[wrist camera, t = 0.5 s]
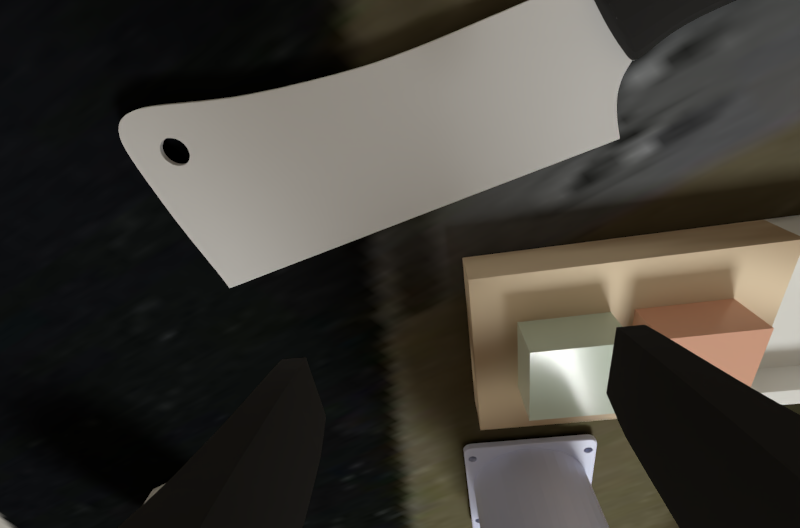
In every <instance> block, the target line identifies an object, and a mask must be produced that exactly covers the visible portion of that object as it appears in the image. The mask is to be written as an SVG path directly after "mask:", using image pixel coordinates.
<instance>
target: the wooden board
mask: <svg viewBox="0 0 800 528" xmlns="http://www.w3.org/2000/svg"><path fill="white" fill-rule="evenodd" d="M799 256H800V236H799V235H796V234H794V233H792V232H790V231H788V230H785V229H783V228H781V227H779V226H777V225H774V224H772V223H770V222H768V221H766V220H756V221H748V222H740V223H732V224H724V225H716V226H709V227H701V228H693V229H685V230H677V231H669V232H661V233H653V234H645V235H638V236H630V237H622V238H614V239H606V240H598V241H590V242H582V243H574V244H567V245H559V246H551V247H543V248H535V249H527V250H519V251H511V252H504V253H496V254H488V255H480V256H472V257H464V258H462V260H463V271H464V283H465V294H466V305H467V317H468V328H469V340H470V351H471V362H472V374H473V385H474V397H475V404H476V409H477V414H478V420H479V425H480V430H490V429H502V428H514V427H525V426H537V425H549V424H561V423H573V422H585V421H596V420H608V419H617V417H616V415H615V413H614V414H602V415H591V416H579V417H567V418H556V419H544V420H532V421H529V418H528V415H527V412H526V409H525V406H524V403H523V400H522V397H521V394H520V391H519V388H518V337H517V322H524V321H533V320H542V319H551V318H560V317H569V316H578V315H587V314H597V313H606V312H611V313H612V314H613V315H614V317H615V318H616V319H617V320H618V322H619V323H620V324H621V325H622V327H625V326H632V323H633V318H634V312H635V309H642V308H651V307H660V306H670V305H679V304H688V303H697V302H706V301H715V300H724V299H733V298H734V299H735V300H737V301H738V302H739V303H741V304H742V305H743V306H745V307H746V308H747V309H749V310H750V311H751V312H753V313H754V314H756V315H757V316H758V317H760V318H761V319H762V320H764V321H765V322H766V323H768V324H769V325H770V326H772V325H773V323H774V320H775V317H776V315H777V312H778V310H779V307H780V305H781V302H782V299H783V297H784V294H785V292H786V289H787V287H788V284H789V281H790V279H791V276H792V274H793V271H794V269H795V266H796V264H797V261H798V258H799Z"/></svg>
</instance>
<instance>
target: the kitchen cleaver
mask: <svg viewBox="0 0 800 528" xmlns="http://www.w3.org/2000/svg"><path fill="white" fill-rule="evenodd" d="M733 1H736V0H527V1H525V2H522V3H520V4H518V5H515V6H513V7H511V8H508V9H506V10H504V11H501V12H499V13H497V14H494V15H492V16H490V17H487V18H485V19H483V20H480V21H478V22H476V23H473V24H471V25H469V26H466V27H464V28H461V29H459V30H457V31H454V32H452V33H450V34H447V35H445V36H442V37H440V38H437V39H435V40H433V41H430V42H428V43H425V44H423V45H420V46H418V47H415V48H413V49H410V50H407V51H405V52H402V53H399V54H397V55H394V56H391V57H388V58H386V59H383V60H380V61H377V62H374V63H371V64H368V65H364V66H361V67H358V68H355V69H351V70H348V71H344V72H341V73H337V74H333V75H329V76H326V77H322V78H318V79H314V80H310V81H306V82H302V83H297V84H293V85H289V86H285V87H280V88H276V89H271V90H266V91H262V92H256V93H251V94H246V95H240V96H234V97H227V98H220V99H211V100H203V101H192V102H182V103H171V104H162V105H154V106H148V107H143V108H140V109H137V110H134V111H132V112H130V113H128V114H126V115H125V116H124V117H123V118H122V119H121V121H120V123H119V135H120V139H121V141H122V144H123V146H124V148H125V149H126V151H127V153H128V154H129V156H130V158H131V159H132V161H133V162H134V164H135V165H136V167H137V168H138V169H139V171H140V172H141V174H142V175H143V176H144V178H145V179H146V181H147V182H148V183H149V185H150V186H151V188H152V189H153V190H154V192H155V193H156V195H157V196H158V197H159V199H160V200H161V201H162V203H163V204H164V205H165V207H166V208H167V209H168V211H169V212H170V213H171V215H172V216H173V217H174V219H175V220H176V221H177V223H178V224H179V225H180V227H181V228H182V229H183V230H184V232H185V233H186V234H187V236H188V237H189V238H190V239H191V240H192V242H193V243H194V244H195V245H196V247H197V248H198V249H199V250H200V251H201V253H202V254H203V255H204V256H205V258H206V259H207V260H208V261H209V262H210V264H211V265H212V266H213V267H214V269H215V270H216V271H217V272H218V274H219V275H220V276H221V277H222V279H223V280H224V281H225V282H226V284H227V285H228V287H229V288H232V287H234V286H237V285H239V284H242V283H245V282H247V281H250V280H252V279H255V278H258V277H260V276H263V275H265V274H268V273H271V272H273V271H276V270H278V269H281V268H284V267H286V266H289V265H292V264H294V263H297V262H299V261H302V260H305V259H307V258H310V257H312V256H315V255H318V254H320V253H323V252H325V251H328V250H331V249H333V248H336V247H339V246H341V245H344V244H346V243H349V242H352V241H354V240H357V239H359V238H362V237H365V236H367V235H370V234H372V233H375V232H378V231H380V230H383V229H385V228H388V227H391V226H393V225H396V224H399V223H401V222H404V221H406V220H409V219H412V218H414V217H417V216H419V215H422V214H425V213H427V212H430V211H432V210H435V209H438V208H440V207H443V206H445V205H448V204H451V203H453V202H456V201H459V200H461V199H464V198H466V197H469V196H472V195H474V194H477V193H479V192H482V191H485V190H487V189H490V188H492V187H495V186H498V185H500V184H503V183H506V182H508V181H511V180H513V179H516V178H519V177H521V176H524V175H526V174H529V173H532V172H534V171H537V170H539V169H542V168H545V167H547V166H550V165H552V164H555V163H558V162H560V161H563V160H566V159H568V158H571V157H573V156H576V155H579V154H581V153H584V152H586V151H589V150H592V149H594V148H597V147H599V146H602V145H605V144H607V143H610V142H612V141H615V140H618V139H620V136H619V130H618V122H617V95H618V89H619V86H620V83H621V80H622V78H623V75H624V73H625V72H626V70H627V68H628V66H629V65H630V63H631V61H633V60H636V59H639V58H640V57H642V56H643V55H644V54H646V53H647V52H648V51H649V50H650V49H652V48H653V47H654V46H655V45H657V44H658V43H659V42H660V41H662V40H663V39H664V38H666V37H667V36H668V35H670V34H671V33H673V32H674V31H676V30H677V29H679V28H681V27H682V26H684V25H686V24H687V23H689V22H691V21H693V20H695V19H697V18H699V17H700V16H703V15H705V14H707V13H709V12H711V11H713V10H715V9H717V8H720V7H722V6H724V5H726V4H729V3H731V2H733ZM166 138H174V139H177V140H179V141H181V142H182V143H183V144H184V145H185V146H186V147H187V149H188V151H189V154H190V159H189V161H188V163H185V164H179V163H176V162H173V161H172V160H170V159H169V158H168V157H167V156H166V154H165V153H164V151H163V142H164V140H165V139H166Z"/></svg>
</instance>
